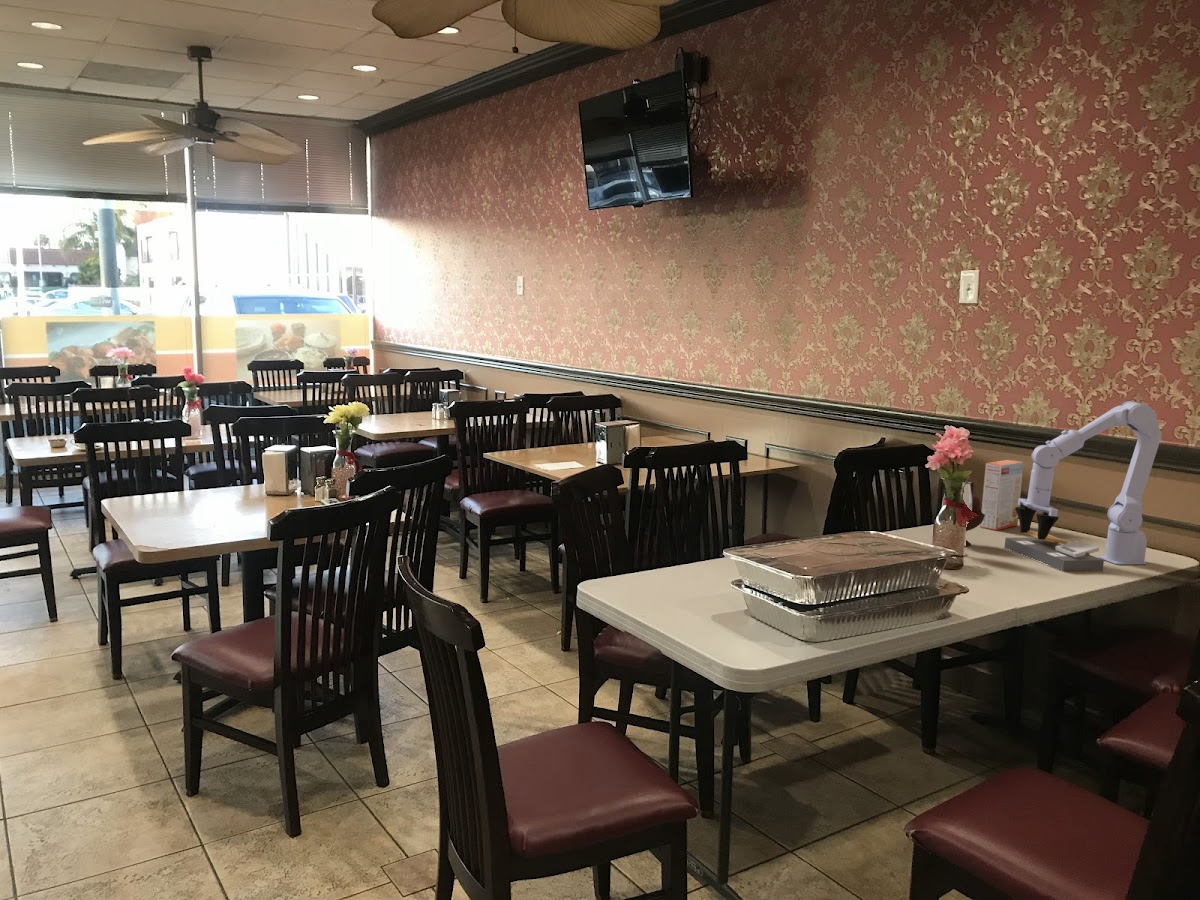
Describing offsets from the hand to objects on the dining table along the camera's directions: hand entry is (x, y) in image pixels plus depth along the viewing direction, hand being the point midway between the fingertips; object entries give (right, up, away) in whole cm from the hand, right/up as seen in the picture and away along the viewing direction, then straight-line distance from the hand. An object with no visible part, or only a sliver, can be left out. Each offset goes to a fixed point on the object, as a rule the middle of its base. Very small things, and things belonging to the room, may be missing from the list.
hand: (1032, 535), depth 268 cm
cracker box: (+5, 0, +35) cm, 35 cm away
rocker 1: (+4, -1, +1) cm, 4 cm away
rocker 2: (+7, -3, -12) cm, 14 cm away
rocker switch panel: (+5, -6, -4) cm, 9 cm away
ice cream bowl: (-17, -3, +8) cm, 19 cm away
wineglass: (-24, -5, -3) cm, 25 cm away
